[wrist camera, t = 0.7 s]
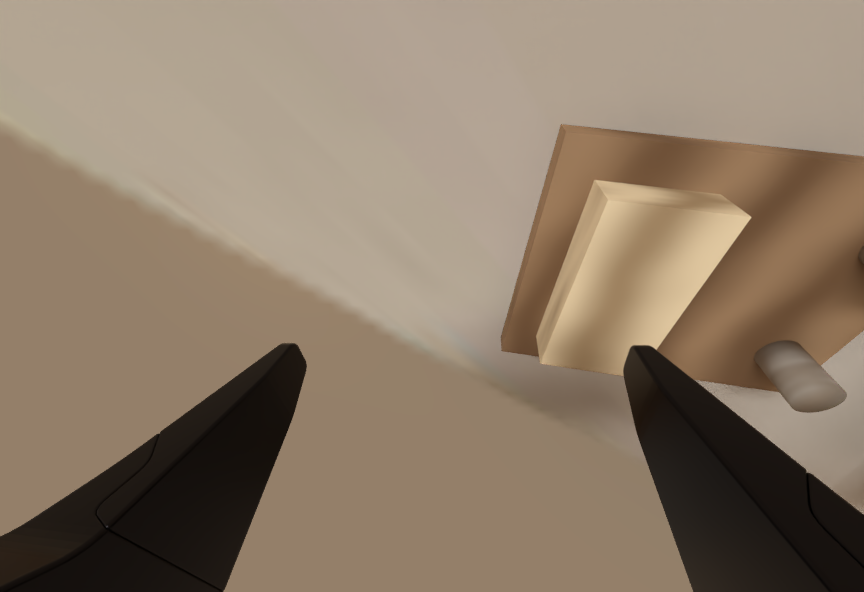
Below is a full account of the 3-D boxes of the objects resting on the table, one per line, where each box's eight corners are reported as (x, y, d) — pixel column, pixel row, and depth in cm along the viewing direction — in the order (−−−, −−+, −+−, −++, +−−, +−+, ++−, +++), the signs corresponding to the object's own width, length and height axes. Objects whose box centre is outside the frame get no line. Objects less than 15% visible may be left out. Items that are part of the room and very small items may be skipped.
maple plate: (720, 194, 16) (751, 217, 14) (624, 348, 23) (636, 377, 21) (594, 179, 17) (607, 200, 15) (535, 336, 24) (540, 363, 22)
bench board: (1002, 171, 16) (1171, 219, 12) (773, 376, 25) (824, 440, 21) (561, 124, 17) (582, 154, 13) (501, 336, 26) (502, 390, 22)
